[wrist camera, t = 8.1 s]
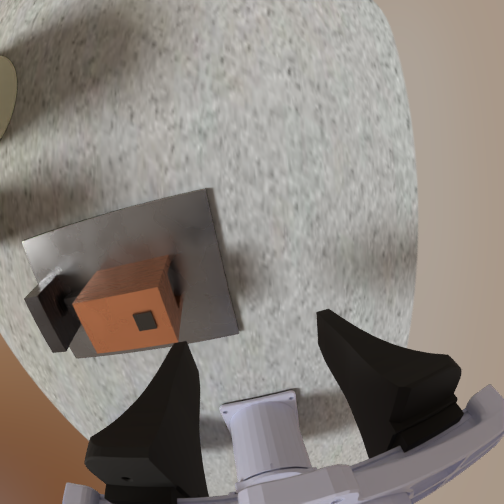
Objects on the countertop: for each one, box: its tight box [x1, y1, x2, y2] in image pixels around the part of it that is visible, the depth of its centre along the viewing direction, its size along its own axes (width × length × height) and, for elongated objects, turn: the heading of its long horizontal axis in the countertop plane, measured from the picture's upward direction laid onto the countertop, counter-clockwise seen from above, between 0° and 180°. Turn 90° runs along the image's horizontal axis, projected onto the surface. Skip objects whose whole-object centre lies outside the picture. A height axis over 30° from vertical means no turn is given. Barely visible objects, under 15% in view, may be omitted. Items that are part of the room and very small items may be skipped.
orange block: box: [72, 255, 183, 354], centre depth 18 cm, size 4×6×5 cm, turn 100°
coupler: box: [22, 188, 239, 358], centre depth 19 cm, size 12×16×4 cm
